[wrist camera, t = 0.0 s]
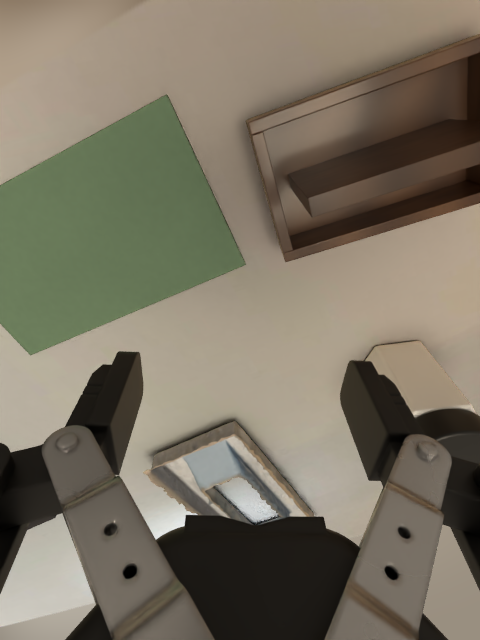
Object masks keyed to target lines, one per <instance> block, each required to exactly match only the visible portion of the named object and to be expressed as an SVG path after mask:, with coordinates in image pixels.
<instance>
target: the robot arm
mask: <svg viewBox="0 0 480 640" xmlns="http://www.w3.org/2000/svg"><path fill="white" fill-rule="evenodd" d="M142 396H143V376H142V367H141V357H140V353H139V352H120V351H119V352H118V353H117V355H116V357H115V359H114V361H113V363H112V365H104V364H103V365H102V366H101V367H99V368H98V369H97V370H96V371H95V372H94V373H92V375H91V377H90V379H89V381H88V383H87V386H86V387H85V389H84V391H83V395H81V397H80V399H79V401H78V403H77V405H76V406H75V408H74V410H73V412H72V414H71V416H70V418H69V420H68V422H67V424H66V426H65V427H64V428H61V429H59V430H57V431H55V432H54V433H52V434H51V435H50V436H49V437H48V438H47V439H46V441H45V442H44V444H42V445H40V446H36V447H32V448H28V449H24V450H19V451H15V452H11V453H10V450H9V448H8V447H7V446H6V445H4V444H2V443H0V593H1V591H2V589H3V586H4V584H5V581H6V579H7V577H8V574H9V572H10V570H11V567H12V565H13V562H14V560H15V558H16V555H17V553H18V550H19V548H20V546H21V543H22V541H23V538H24V536H25V534H26V531H27V529H28V526H29V524H30V522H33V521H37V520H40V519H44V518H47V517H50V516H54V515H57V514H61V513H63V516H64V519H65V521H66V524H67V527H68V529H69V532H70V535H71V537H72V540H73V543H74V545H75V548H76V551H77V554H78V556H79V559H80V562H81V564H82V567H83V570H84V573H85V575H86V578H87V581H88V584H89V586H90V589H91V592H92V595H93V597H94V600H95V603H96V606H95V607H94V608H93V609H92V610H91V611H90V612H89V613H88V615H87V616H86V617H85V618H84V619H83V620H82V621H81V622H80V624H79V625H78V626H77V627H76V628H75V629H74V631H73V632H72V633H71V634H70V635H69V636H68V637H67V638H66V640H448V639H447V638H446V637H445V636H444V635H443V634H442V633H441V632H440V631H439V630H438V629H437V628H436V627H435V625H434V624H433V623H432V622H431V621H430V620H429V619H428V618H427V617H426V616H425V615H424V614H423V608H424V604H425V599H426V594H427V590H428V586H429V581H430V577H431V573H432V568H433V564H434V559H435V555H436V550H437V546H438V541H439V537H440V533H441V528H442V524H443V525H446V526H449V527H451V529H452V532H453V534H454V536H455V538H456V540H457V542H458V545H459V547H460V549H461V551H462V553H463V555H464V557H465V560H466V562H467V564H468V566H469V568H470V571H471V573H472V575H473V577H474V579H475V581H476V584H477V586H478V588H479V590H480V463H479V464H477V463H474V462H470V461H467V460H463V459H460V458H456V457H453V456H450V454H449V452H448V450H447V449H446V448H445V447H444V446H443V445H442V444H441V443H440V442H438V441H437V440H435V439H433V438H431V437H429V436H426V435H425V434H424V432H423V431H422V429H421V427H420V426H419V424H418V422H417V421H416V419H415V417H414V415H413V414H412V412H411V410H410V409H409V407H408V405H406V402H405V400H404V398H403V397H402V396H401V393H400V392H399V390H398V388H397V387H396V385H395V384H394V383H393V382H392V381H391V380H390V379H389V378H388V377H386V376H385V375H379V374H378V372H377V371H376V369H375V367H374V365H373V363H372V362H371V361H354V360H351V361H350V362H349V363H348V366H347V370H346V373H345V377H344V381H343V384H342V388H341V393H340V401H341V406H342V409H343V412H344V414H345V417H346V420H347V423H348V425H349V428H350V431H351V433H352V436H353V439H354V442H355V444H356V447H357V450H358V452H359V455H360V458H361V461H362V463H363V466H364V469H365V472H366V474H367V477H368V480H369V481H381V482H382V485H383V489H382V492H381V494H380V496H379V499H378V501H377V504H376V506H375V508H374V511H373V513H372V516H371V518H370V521H369V523H368V525H367V528H366V530H365V533H364V535H363V538H362V540H361V542H360V545H359V547H358V546H357V545H356V544H355V543H353V542H352V541H351V540H349V539H348V538H346V537H345V536H343V535H341V534H339V533H337V532H334V531H332V530H329V529H326V526H325V521H324V517H295V516H290V517H286V518H282V519H279V520H275V521H271V522H267V523H264V524H260V525H252V524H249V523H245V522H242V521H238V520H234V519H231V518H227V517H224V516H218V515H186V519H185V526H184V527H180V528H177V529H175V530H172V531H170V532H168V533H166V534H164V535H162V536H161V537H159V538H158V539H157V540H155V538H154V536H153V534H152V532H151V531H150V529H149V527H148V525H147V523H146V522H145V520H144V518H143V516H142V514H141V513H140V511H139V509H138V507H137V505H136V504H135V502H134V500H133V498H132V496H131V495H130V493H129V491H128V489H127V487H126V486H125V484H124V482H123V480H122V479H121V478H120V476H117V477H116V476H115V475H119V473H120V470H121V467H122V463H123V460H124V457H125V453H126V450H127V447H128V443H129V440H130V437H131V433H132V430H133V427H134V424H135V420H136V417H137V414H138V410H139V407H140V404H141V400H142Z"/></svg>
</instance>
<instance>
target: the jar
mask: <svg viewBox="0 0 480 640" xmlns="http://www.w3.org/2000/svg"><path fill="white" fill-rule="evenodd" d="M365 361H371V362H372V363H373V365H374V367H375V369H376V371H377V372H378V374H379V375H385V376H386V377H388V378H389V379H390V380H391V381H392V382H393V383H394V384H395V385H396V387H397V388H398V390H399V392H400V393H401V396H402V397H403V398H404V400H405V402H406V405H408V407H409V409H410V410H411V412H412V414H413V415H414V417H415V419H416V421H417V422H418V424H419V426H420V427H421V429H422V431H423V432H424V434H425V435H426V436H429V437H431V438H433V439H435V440H437V441H438V442H440V443H441V444H442V445H443V446H444V447H445V448H446V449H447V450H448V452H449V454H450V456H453V457H456V458H460V459H463V460H467V461H470V462H474V463H477V464H479V463H480V416H478V415H477V413H476V411H475V410H474V408H473V406H472V405H471V403H470V402H469V401H468V400H467V398H466V397H465V396H464V395H463V394H462V392H461V391H460V390H459V389H458V387H457V386H456V385H455V384H454V382H453V381H452V380H451V379H450V377H449V376H448V375H447V374H446V372H445V371H444V370H443V369H442V367H441V366H440V365H439V364H438V362H437V361H436V360H435V359H434V357H433V356H432V355H431V354H430V352H429V351H428V350H427V349H426V347H425V346H424V345H423V344H422V342H421V341H412V342H404V343H396V344H388V345H380V346H375V347H374V349H373V350H372V352H371V353H370V354H369V356H368V357H367V358H366V360H365Z"/></svg>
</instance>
